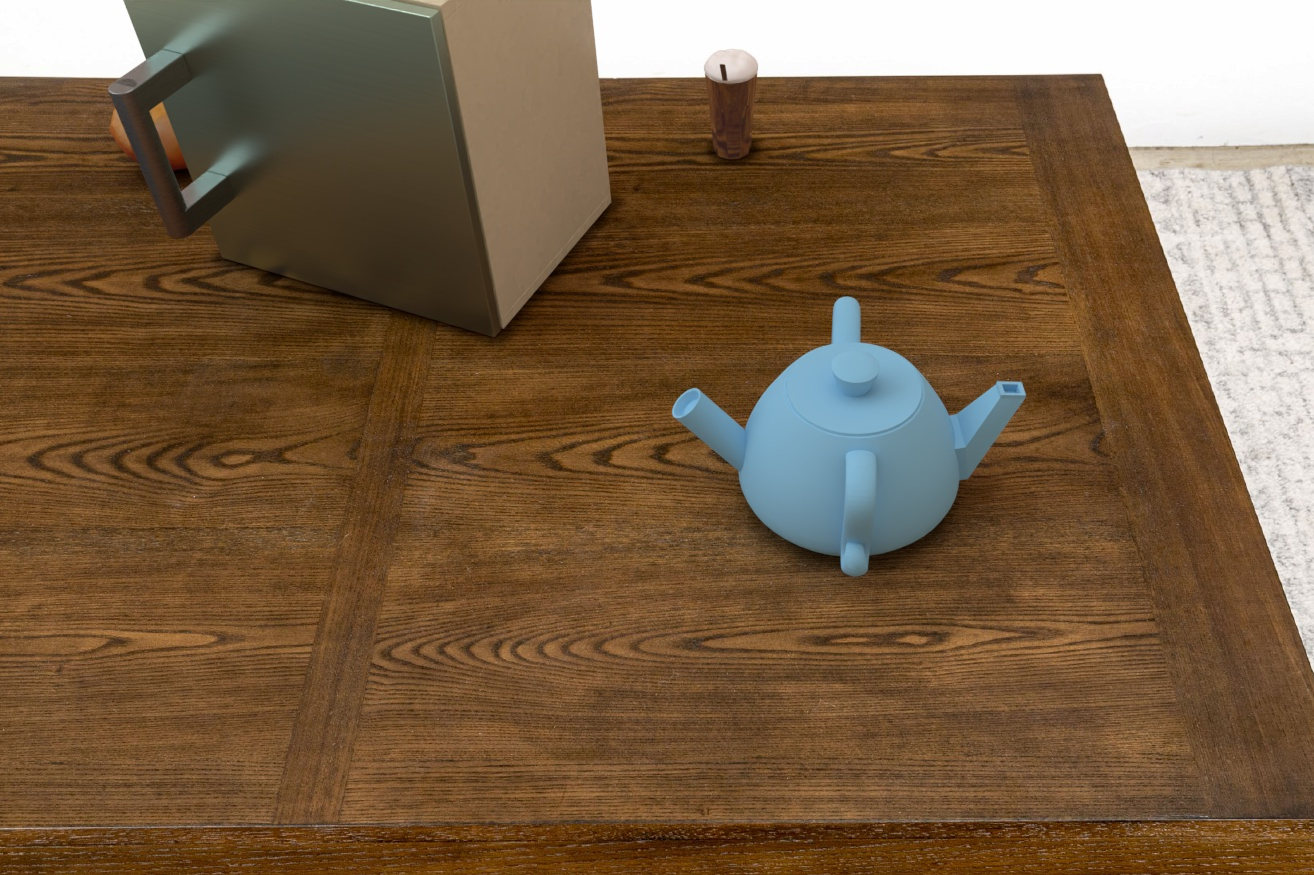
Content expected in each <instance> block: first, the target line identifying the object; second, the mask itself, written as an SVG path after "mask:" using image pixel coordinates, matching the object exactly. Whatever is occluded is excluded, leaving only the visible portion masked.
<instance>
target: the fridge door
mask: <svg viewBox="0 0 1314 875" xmlns="http://www.w3.org/2000/svg"><path fill="white" fill-rule="evenodd" d="M122 1H123V4H124V6H125V9H126V11H127V13H128V16H129V19H130V23H131V24H132V27H133V30H134V32H135V35H136V37H137V41H138V43H139V45H140V48H141V51H142V53H143V56H144V58H145V60H144V61H142V62H141V63H139V64H138V65H137V66H135V67H134V68H132V69H130V70H129V71H128V72H127V73H125V74H123V75H122V76H120V77H119V78H118V79H116V80H115V81H112V83H110V84H109V85H108V87H107V92H108V94H109V96H110V99H111V102H112V103H113V106H114V109H115V108H116V111H117V113H118V116H119V118H120V121H121V123H122V125H123V128H124V130H125V133H126V135H127V137H128V140H129V142H130V145H131V147H132V149H133V152H134V154H135V157H136V159H137V161H138V163H137V165H138V166H139V168H140V170H141V173H142V175H143V178H144V180H145V183H146V185H147V188H148V190H149V193H150V195H151V197H152V200H153V202H154V204H155V207H156V210H157V212H158V214H159V217H160V219H161V221H162V223H163V227H164V228H165V231H166V233H167V235H168V237H169V238H171V239H173V240H182V239H185V238H188V237H190V236H192V235H193V234H194V233H196V232H197V231H198V230H199V229H200V228H202V227H203V226H204V225H205V224H206V223H208V225H209V227H210V230H211V232H212V236H213V238H214V240H215V243H216V246H217V249H218V251H219V254H220V257H221V258H222V259H225V260H228V261H231V262H234V263H235V262H236V263H239V264H241V265H245V266H249V267H253V268H255V269H259V270H263V271H266V272H269V273H273V274H277V275H279V276H283V277H287V278H290V279H294V280H297V281H300V282H303V283H307V284H311V285H314V286H318V287H321V288H324V289H326V290H331V291H334V292H338V293H342V294H345V295H348V296H351V297H354V298H358V299H362V300H364V301H369V302H373V303H375V304H379V305H382V306H385V307H388V308H392V309H396V310H399V311H403V312H406V313H410V314H413V315H416V316H420V317H423V318H426V319H430V320H433V321H437V322H440V323H443V324H447V325H451V326H455V327H457V328H461V329H464V330H467V331H470V332H471V331H472V332H475V333H478V334H482V335H484V336H488V337H492V338H496V337H497V336H498V334H499V333H500V332H501V330H502V328H501V327H500V322H499V317H498V312H497V306H496V301H495V296H494V291H493V286H492V281H491V276H490V271H489V265H488V260H487V255H486V250H485V245H484V240H483V235H482V229H481V224H480V219H479V214H478V209H477V204H476V199H475V193H474V188H473V183H472V178H471V173H470V168H469V163H468V158H467V152H466V147H465V142H464V137H463V132H462V127H461V122H460V116H459V111H458V106H457V101H456V96H455V91H454V86H453V81H452V75H451V70H450V65H449V60H448V55H447V50H446V45H445V39H444V34H443V29H442V24H441V19H440V14H439V10H435V9H430V8H426V7H421V6H416V5H411V4H406V3H401V2H397V1H392V0H122ZM161 102H162V103H163V105H164V108H165V110H166V113H167V116H168V118H169V121H170V123H171V126H172V129H173V131H174V134H175V136H176V139H177V142H178V144H179V147H180V149H181V152H182V155H183V157H184V160H185V162H186V165H187V168H188V169H187V170H188V173H189V175H190V179H191V181H192V182H191V183H190V184H188V185H187V186H186V187H185V188H183V189H182V190H181V187H180V185H179V183H178V180H177V177H176V175H175V172H174V170H172V167H171V165H170V162H169V159H168V157H167V154H166V152H165V149H164V147H163V144H162V142H161V139H160V137H159V134H158V132H157V129H156V127H155V124H154V121H153V119H152V116H151V114H150V110H151V109H153V108H154V107H155V106H157V105H158V104H160V103H161Z"/></svg>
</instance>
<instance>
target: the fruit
mask: <svg viewBox="0 0 1314 875" xmlns="http://www.w3.org/2000/svg"><path fill="white" fill-rule="evenodd" d="M150 114H151V116H152V119H153V121H154V124H155V127H156V129H157V132H158V134H159V137H160V139H161V142H162V144H163V147H164V149H165V152H166V154H167V157H168V159H169V162H170V165H171V167H172V170H173V171H181V170H188V168H187V165H186V162H185V160H184V157H183V155H182V152H181V149H180V147H179V144H178V142H177V139H176V136H175V134H174V131H173V129H172V126H171V123H170V121H169V118H168V116H167V113H166V110H165V108H164V105H163V103H162V102H161V103H160V104H158V105H157V106H155V107H154V108H153V109H151V110H150ZM110 120H111V121H110V125H109V133H110V134H111V136H112V138H113V139H114V141H115V142H116V144H117V146H119V148H120V149H121V150H122V151H123V152H124V154H125V155H126V156H127V157H128V158H130V159H132V160H133V161H134V162H135V163H136V164H138V161H137V159H136V157H135V154H134V152H133V149H132V147H131V145H130V142H129V140H128V137H127V135H126V133H125V130H124V128H123V125H122V123H121V121H120V118H119V116H118V113H117V111H116V108H115V107H114V109H113V111H112V116H111V119H110Z"/></svg>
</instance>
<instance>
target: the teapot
mask: <svg viewBox="0 0 1314 875" xmlns="http://www.w3.org/2000/svg"><path fill="white" fill-rule="evenodd" d="M861 318H862V316H861V305H860V303H859V302H858V300H857V299H856V298H854V297H852V296H842V297H839V298H837V299H836V301H835V302H834V305H833V308H832V322H831V342H830V344H826V345H822V346H820V347H817V348H813V349H812V350H810V351H808V352H806V353H805V354H803V355H802V356H800V357H799V358H797V359H796V360H795V361H793V362H792V363H791V364H789V365H788V366H787V367H786V368H785V370H783V371H782V372H781V373H780V374H779V375H778V376H777V377H776V379H774V380H773V382H771V383H770V385H769V386H768V387H767V388H766V390H764V392H763V393H762V395H761V396H760V398H759V399H758V401H757V402H756V404H755V405H754V408H753V409H752V411H751V413H750V415H749V417H748V418H747V422H746V425H745V427H742V426H741V425H740V424H739V423H738V422H737V421H735V419H733V418H732V417H731V416H730V415H729V414H727V412H726V411H724V410H723V409H722V408H721V407H719V405H717V404H716V403H715V402H714V401H713V400H712V399H711V398H709V397H708V396H707V395H706V394H705V393H704V392H702V391H701V390H700V389H699V388H697V387H693V388H690V389H687V390H686V391H685V392H683V393H681V395H680V396H679V397H678V398H677V399H676V401H675V402H674V404H673V406H672V410H671V414H672V415H671V416H672V417H673V418H674V419H675V420H676V421H678V422H679V423H680V424H682V425H683V427H685V428H686V429H687V430H689V431H690V432H691V433H692V434H693V435H694V436H696V437H697V438H698V439H699V440H701V441H702V442H703V443H704V444H706V445H707V447H708V448H710V449H711V450H713V451H714V452H715V453H716V454H717V455H718V456H720V457H721V458H722V459H723V460H724V461H725V462H727V463H728V464H729V465H730V466H732V467H733V468H734V469H735V470H737V471H738V480H739V481H738V482H739V484H740V487H741V492H742V493H743V495H744V498H745V500H746V502H747V504H748V506H749V508H751V510H752V511H753V513H754V515H756V517H757V518H758V519H759V520H760V521H761V522H762V523H763V524H764V526H766V527H767V528H769V529H770V530H771V531H772V532H773V533H775V534H776V535H778V536H779V537H781V538H783V539H785V540H786V541H787V542H790V543H792V544H794V545H796V546H798V547H801V548H803V549H806V550H809V551H811V552H813V553H814V552H815V553H819V554H823V555H828V556H835V557H840V568H841V571H842V572H843V573H844V574H845V575H847V576H849V577H854V578H857V577H861V576H864V575H865V574H866V573H868V569H869V562H870V561H869V560H870V556H876V555H881V554H887V553H889V552H892V551H897V550H898V549H902V548H904V547H906V546H909V545H912V544H913V543H915V542H917V541H918V540H921V539H922V538H923V537H925V536H926V535H927V534H929V533H931V531H933V530H934V529H935V528H936V527H937V526H938V525H939V524H940V523H941V522H942V521H943V519H944V518H945V517H946V516H947V514H948V513H949V511H950V510H951V509H952V506H953V504H954V502H955V501H956V497H957V495H958V491H959V485H960V481H964V480H969V479H970V477H971V476H972V474H973V473H974V471H975V470H976V468H977V467H978V466H979V464H980V463H981V461H982V460H983V459H984V457H985V456H986V455H987V453H988V451H990V449H991V448H992V446H993V445H994V443H995V442H996V441H997V439H998V438H999V436H1000V435H1001V433H1002V432H1003V430H1004V429H1005V428H1006V426H1007V425H1008V424H1009V422H1010V421H1011V419H1012V418H1013V417H1014V415H1015V414H1016V412H1017V411H1018V409H1019V408H1020V406H1022V404H1023V402H1024V401H1025V399H1026V397H1027V393H1026V391H1025V388H1024V385H1023V382H1022V381H1009V380H1008V381H1005V380H1004V381H1002V380H1001V381H1000V380H999V381H998V380H996V383H995V384H994V385H993V386H992V387H991V388H988V390H987V391H985V392H983V393H982V394H981V395H979V397H977V398H976V399H975V400H973V401H972V402H970V403H969V404H968V405H967V406H965V407H964V408H962V409H961V410H959V412H957V413H956V414H950V415H949V412H948V410H947V408H946V406H945V405H944V403H943V401H942V400H941V398H940V397H939V395H938V394H937V392H936V391H935V389H934V387H933V386H932V385H931V384H930V382H929V381H928V380H927V379H926V377H925V376H924V375H923V374H922V373H921V371H920V370H919V369H917V367H916V366H915V365H913V363H912V362H910V361H909V360H908V359H907V358H905V357H904V356H902V355H901V354H899V353H898V352H896V351H894V350H891V349H889V348H886V347H884V346H880V345H877V344H872V343H866V342H861V328H862V327H861V326H862V325H861V323H862V322H861Z"/></svg>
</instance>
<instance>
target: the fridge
mask: <svg viewBox="0 0 1314 875" xmlns="http://www.w3.org/2000/svg"><path fill="white" fill-rule="evenodd" d="M392 1H397V2H401V3H406V4H411V5H416V6H421V7H426V8H430V9H435V10H439V14H440V19H441V24H442V29H443V34H444V39H445V45H446V50H447V55H448V60H449V65H450V70H451V75H452V81H453V86H454V91H455V96H456V101H457V106H458V111H459V116H460V122H461V127H462V132H463V137H464V142H465V147H466V152H467V158H468V163H469V168H470V173H471V178H472V183H473V188H474V193H475V199H476V204H477V209H478V214H479V219H480V224H481V229H482V235H483V240H484V245H485V250H486V255H487V260H488V265H489V271H490V276H491V281H492V286H493V291H494V296H495V301H496V306H497V312H498V317H499V322H500V327H501V330H503V329H505V328H506V327H507V326H508V324H509V323H510V322H511V321H512V319H514V317H515V316H516V315H517V314H518V313H519V311H520V310H521V309H522V308H523V307H524V306H525V304H526V303H527V302H528V301H529V299H530V298H531V297H532V296H533V295H534V294H535V293H536V291H537V290H538V289H539V288H541V286H542V285H543V283H544V282H545V281H546V280H547V279H548V278H549V276H550V275H551V274H552V273H553V272H554V270H555V269H556V268H557V267H558V265H559V264H560V263H561V262H562V261H563V260H564V259H565V258H566V256H567V255H568V254H569V253H570V252H571V250H572V249H573V248H574V247H575V246H576V244H578V242H579V241H580V240H581V239H582V238H583V236H584V235H585V234H586V233H587V232H588V231H589V229H590V228H591V227H592V226H593V225H594V223H595V222H596V221H597V220H598V218H600V216H601V215H602V214H603V213H604V212H605V211H606V209H607V208H608V207H609V206H610V205H611V203H612V196H611V195H612V194H611V186H610V184H611V183H610V174H609V164H608V156H607V145H606V136H605V124H604V115H603V106H602V95H601V87H600V76H599V66H598V55H597V47H596V36H595V28H594V27H595V26H594V19H593V18H594V17H593V7H592V0H392Z"/></svg>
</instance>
